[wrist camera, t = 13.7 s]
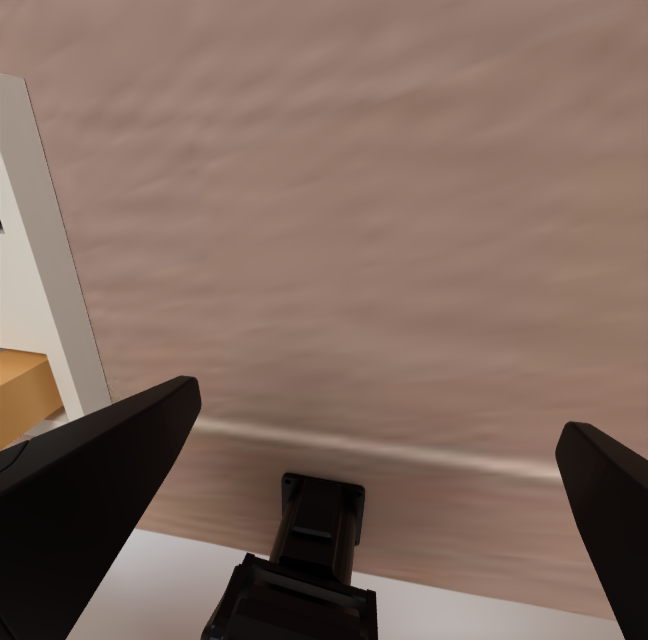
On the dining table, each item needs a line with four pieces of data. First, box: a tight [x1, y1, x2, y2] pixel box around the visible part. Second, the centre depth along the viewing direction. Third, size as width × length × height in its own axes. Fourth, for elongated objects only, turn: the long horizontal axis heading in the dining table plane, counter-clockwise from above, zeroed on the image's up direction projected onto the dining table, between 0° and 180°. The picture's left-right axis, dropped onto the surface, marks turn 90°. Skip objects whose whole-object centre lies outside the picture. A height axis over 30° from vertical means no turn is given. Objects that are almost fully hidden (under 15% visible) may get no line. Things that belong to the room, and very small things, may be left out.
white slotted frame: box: [0, 73, 112, 437], centre depth 23 cm, size 24×9×2 cm, turn 178°
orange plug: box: [0, 349, 63, 450], centre depth 24 cm, size 4×4×8 cm
